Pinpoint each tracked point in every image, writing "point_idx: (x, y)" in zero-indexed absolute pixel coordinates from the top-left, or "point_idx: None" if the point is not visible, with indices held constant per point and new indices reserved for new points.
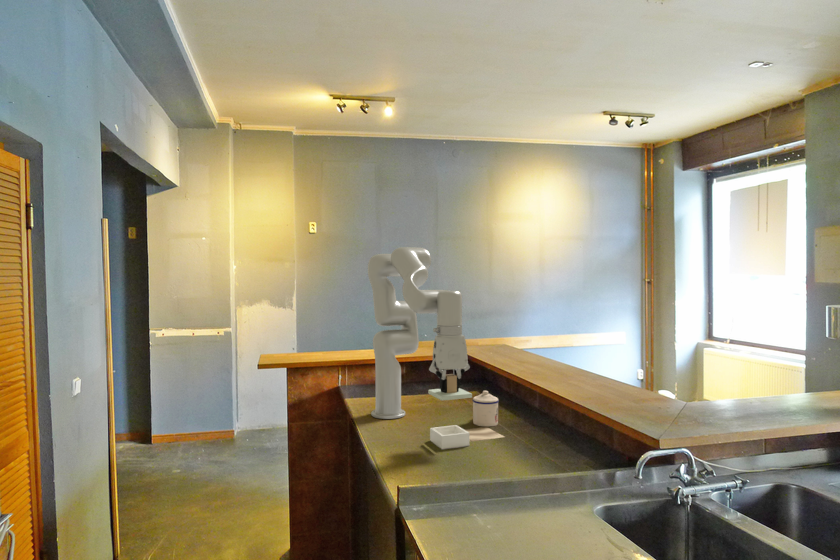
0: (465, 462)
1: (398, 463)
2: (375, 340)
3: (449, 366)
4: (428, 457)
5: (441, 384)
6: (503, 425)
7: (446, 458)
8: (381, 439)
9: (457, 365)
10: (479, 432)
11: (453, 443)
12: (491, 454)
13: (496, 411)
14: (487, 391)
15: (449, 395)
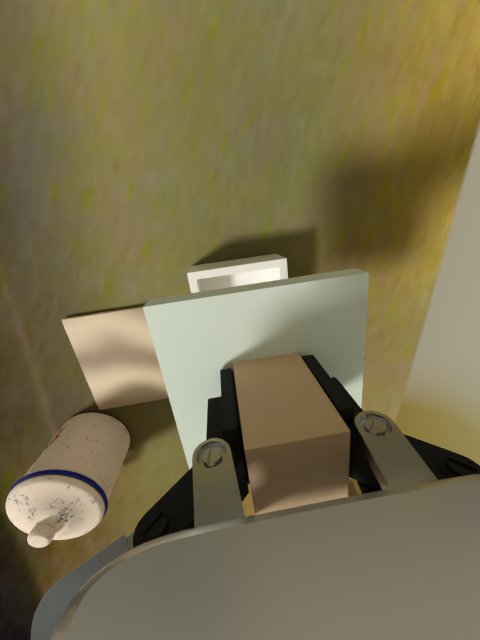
0: (240, 139)
1: (415, 188)
2: None
3: (440, 532)
4: (325, 215)
5: (349, 400)
6: (46, 425)
7: (282, 193)
8: (380, 372)
9: (279, 577)
10: (131, 370)
11: (243, 260)
12: (141, 191)
13: (42, 453)
14: (30, 538)
15: (309, 287)
